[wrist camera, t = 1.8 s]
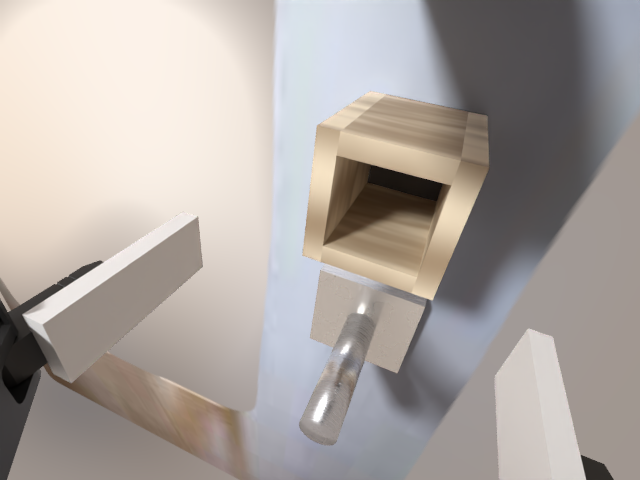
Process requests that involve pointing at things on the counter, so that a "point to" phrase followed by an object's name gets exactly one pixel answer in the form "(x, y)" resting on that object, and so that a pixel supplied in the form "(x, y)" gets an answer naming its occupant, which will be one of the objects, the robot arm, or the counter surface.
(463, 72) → the counter surface
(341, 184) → the birch sleeve
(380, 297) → the post stand
